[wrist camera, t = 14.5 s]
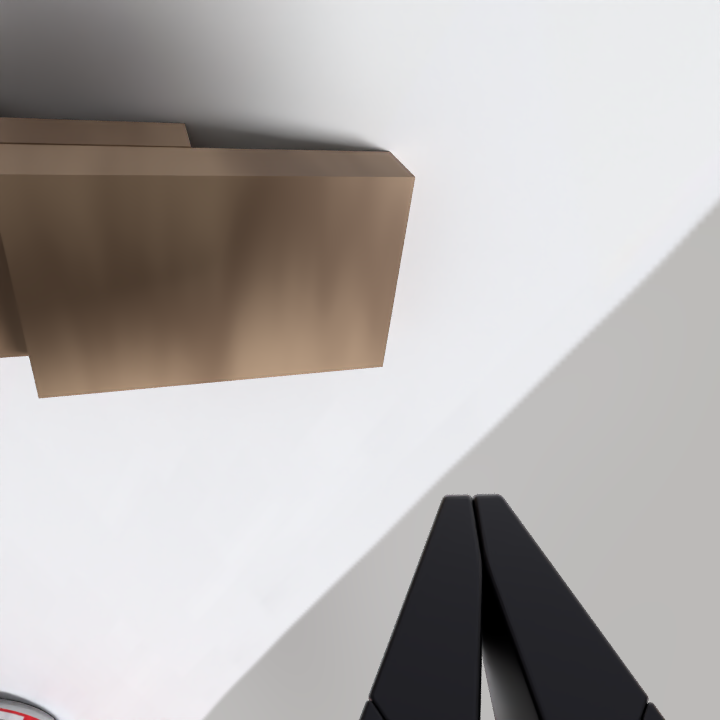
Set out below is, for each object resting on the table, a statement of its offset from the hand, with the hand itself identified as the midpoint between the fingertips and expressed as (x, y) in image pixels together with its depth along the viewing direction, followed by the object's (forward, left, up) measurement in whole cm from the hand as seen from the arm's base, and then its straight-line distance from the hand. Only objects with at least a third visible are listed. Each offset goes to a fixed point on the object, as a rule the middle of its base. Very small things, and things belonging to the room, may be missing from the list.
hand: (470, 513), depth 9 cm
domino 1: (0, -1, -8) cm, 8 cm away
